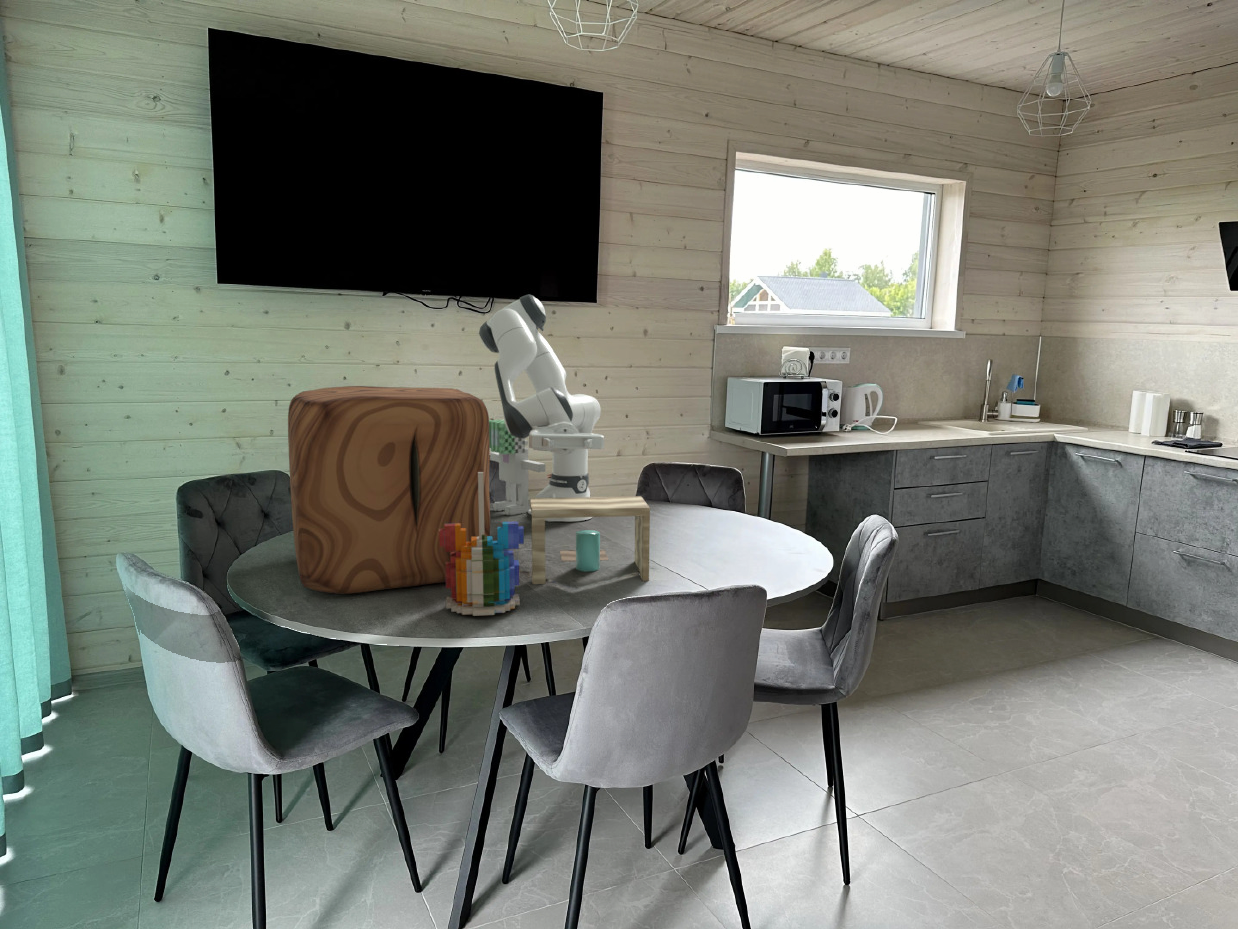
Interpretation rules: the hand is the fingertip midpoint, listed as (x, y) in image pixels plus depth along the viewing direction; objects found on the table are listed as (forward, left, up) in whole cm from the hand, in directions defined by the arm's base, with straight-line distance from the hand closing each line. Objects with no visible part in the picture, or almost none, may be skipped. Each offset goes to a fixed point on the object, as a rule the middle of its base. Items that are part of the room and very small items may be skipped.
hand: (569, 444), depth 228 cm
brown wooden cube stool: (-21, -41, -31) cm, 55 cm away
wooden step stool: (+15, -7, -30) cm, 35 cm away
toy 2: (-57, +21, -30) cm, 68 cm away
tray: (+4, +2, -30) cm, 30 cm away
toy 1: (+20, -41, -31) cm, 55 cm away
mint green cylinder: (+14, -5, -30) cm, 34 cm away
